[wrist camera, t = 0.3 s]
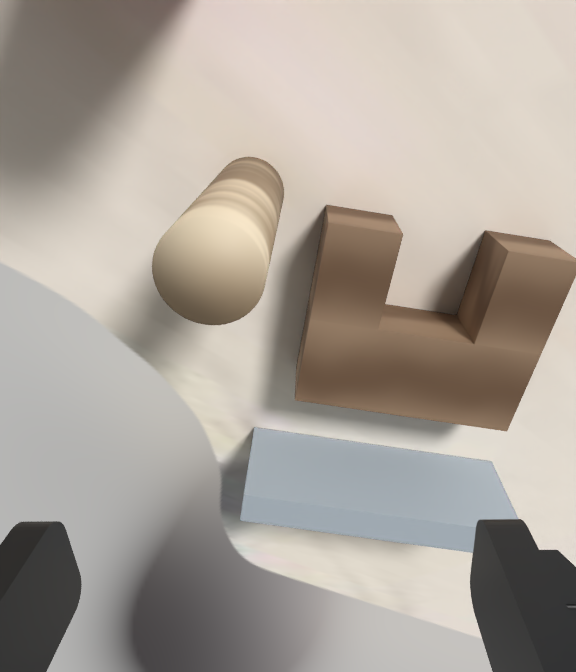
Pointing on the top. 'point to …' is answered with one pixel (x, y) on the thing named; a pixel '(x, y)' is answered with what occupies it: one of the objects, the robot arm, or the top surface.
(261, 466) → the wall
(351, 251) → the block
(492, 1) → the top surface
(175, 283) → the dowel
